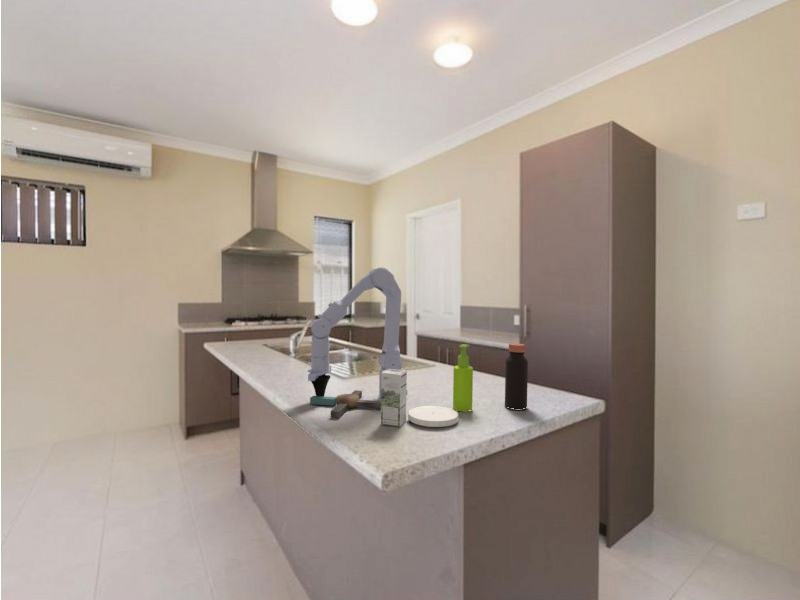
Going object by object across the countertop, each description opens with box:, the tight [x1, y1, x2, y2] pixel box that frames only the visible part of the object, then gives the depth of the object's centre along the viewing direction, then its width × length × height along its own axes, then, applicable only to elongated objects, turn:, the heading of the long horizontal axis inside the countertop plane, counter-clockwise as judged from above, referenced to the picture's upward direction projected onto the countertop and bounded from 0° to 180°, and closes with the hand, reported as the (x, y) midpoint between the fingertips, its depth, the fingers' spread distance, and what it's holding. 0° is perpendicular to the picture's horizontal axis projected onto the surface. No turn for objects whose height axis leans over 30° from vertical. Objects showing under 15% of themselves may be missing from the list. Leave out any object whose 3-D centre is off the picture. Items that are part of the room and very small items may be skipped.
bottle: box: [504, 343, 529, 409], centre depth 124 cm, size 7×7×20 cm
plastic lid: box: [407, 405, 459, 428], centre depth 111 cm, size 14×14×2 cm
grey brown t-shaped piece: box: [330, 390, 381, 420], centre depth 123 cm, size 16×24×3 cm, turn 170°
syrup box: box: [380, 369, 408, 428], centre depth 108 cm, size 6×6×14 cm
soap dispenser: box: [452, 343, 474, 412], centre depth 122 cm, size 6×7×20 cm
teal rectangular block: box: [309, 395, 337, 407], centre depth 125 cm, size 8×2×2 cm, turn 79°
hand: (320, 398), depth 127 cm, fingers closed
